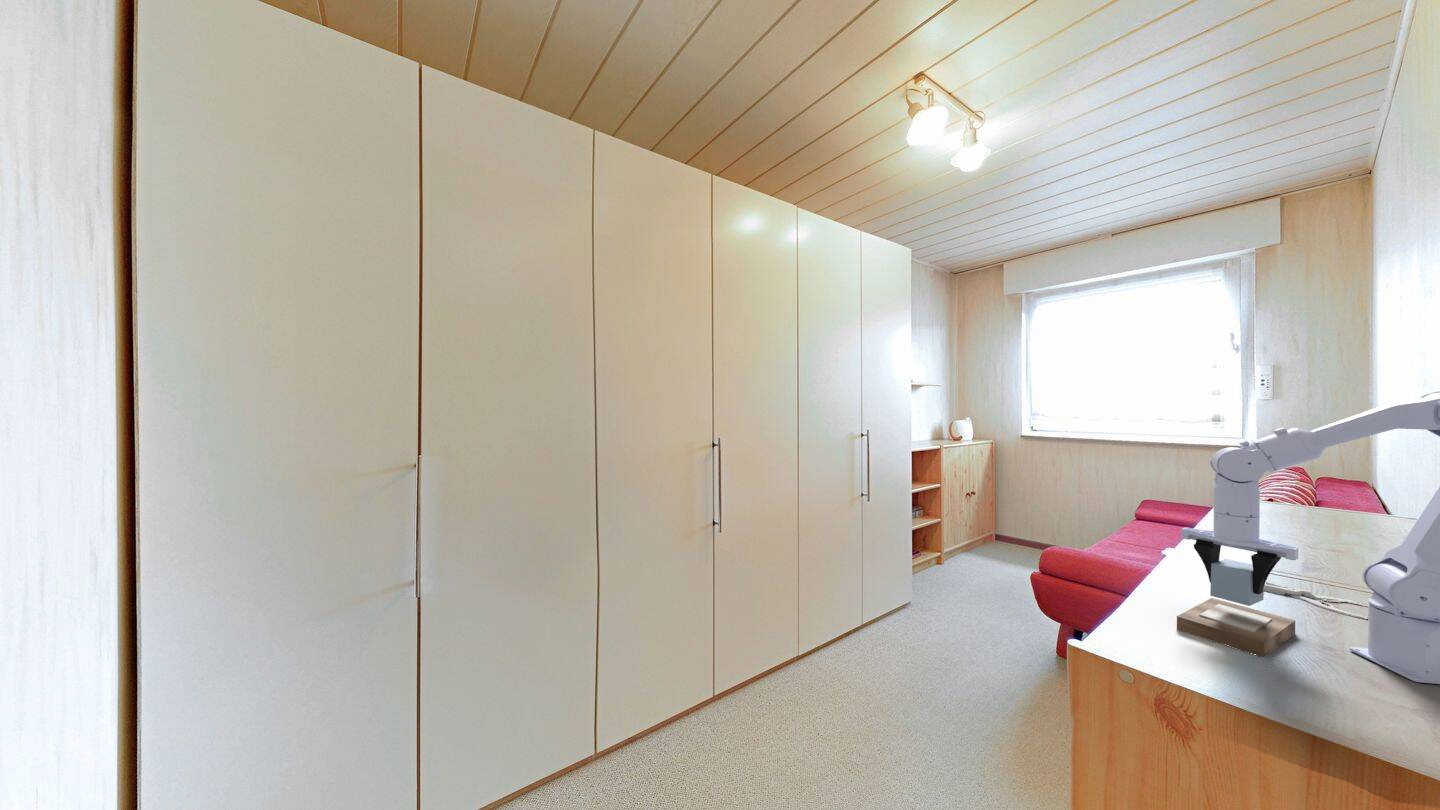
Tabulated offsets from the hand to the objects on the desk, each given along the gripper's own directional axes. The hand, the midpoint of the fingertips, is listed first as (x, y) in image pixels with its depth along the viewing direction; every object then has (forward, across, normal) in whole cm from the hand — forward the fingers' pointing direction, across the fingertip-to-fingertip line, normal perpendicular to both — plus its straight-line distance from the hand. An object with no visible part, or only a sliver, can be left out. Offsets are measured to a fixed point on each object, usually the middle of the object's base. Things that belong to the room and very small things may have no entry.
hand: (1235, 587), depth 87 cm
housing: (+2, 0, -1) cm, 2 cm away
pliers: (+9, -3, -32) cm, 34 cm away
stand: (+8, 0, 0) cm, 8 cm away
